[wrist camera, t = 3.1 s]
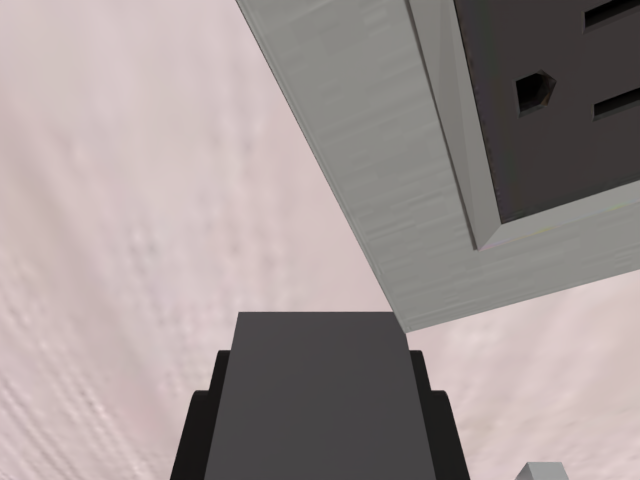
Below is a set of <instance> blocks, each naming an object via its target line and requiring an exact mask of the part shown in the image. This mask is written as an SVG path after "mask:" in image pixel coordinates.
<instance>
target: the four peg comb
mask: <svg viewBox="0 0 640 480" xmlns="http://www.w3.org/2000/svg"><path fill="white" fill-rule="evenodd" d="M514 480H569V478H568V476H567V474H566V471H565V469H564V467H563V465H562V462H527V463H526V464H525V466H524V467H523V468H522V470H521V471H520V473H519V474H518V475H517V477H516V478H515V479H514Z"/></svg>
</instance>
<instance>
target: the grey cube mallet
mask: <svg viewBox="0 0 640 480" xmlns="http://www.w3.org/2000/svg"><path fill="white" fill-rule="evenodd" d="M204 480H436V477H435V472H434V467H433V462H432V458H431V453H430V448H429V443H428V438H427V433H426V429H425V424H424V419H423V414H422V409H421V404H420V399H419V395H418V390H417V385H416V380H415V375H414V370H413V366H412V361H411V356H410V351H409V346H408V341H407V337H406V333H405V334H404V332H403V330H402V328H401V326H400V324H399V322H398V320H397V318H396V316H395V314H394V312H238V317H237V322H236V327H235V331H234V336H233V341H232V346H231V351H230V356H229V361H228V366H227V370H226V375H225V380H224V385H223V390H222V395H221V400H220V405H219V409H218V414H217V419H216V424H215V429H214V434H213V439H212V444H211V448H210V453H209V458H208V463H207V468H206V473H205V478H204Z"/></svg>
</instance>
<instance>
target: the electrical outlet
mask: <svg viewBox="0 0 640 480" xmlns="http://www.w3.org/2000/svg"><path fill="white" fill-rule="evenodd" d="M235 1H236V3H237V5H238V7H239V9H240V11H241V13H242V15H243V17H244V19H245V21H246V23H247V25H248V26H249V28H250V30H251V32H252V34H253V36H254V38H255V40H256V42H257V44H258V46H259V48H260V50H261V52H262V54H263V56H264V58H265V60H266V62H267V64H268V66H269V68H270V70H271V72H272V74H273V76H274V78H275V80H276V82H277V84H278V86H279V88H280V90H281V92H282V94H283V96H284V97H285V99H286V101H287V103H288V105H289V107H290V109H291V111H292V113H293V115H294V117H295V119H296V121H297V123H298V125H299V127H300V129H301V131H302V133H303V135H304V137H305V139H306V141H307V143H308V145H309V147H310V149H311V151H312V153H313V155H314V157H315V159H316V161H317V163H318V165H319V167H320V169H321V170H322V172H323V174H324V176H325V178H326V180H327V182H328V184H329V186H330V188H331V190H332V192H333V194H334V196H335V198H336V200H337V202H338V204H339V206H340V208H341V210H342V212H343V214H344V216H345V218H346V220H347V222H348V224H349V226H350V228H351V230H352V232H353V234H354V236H355V238H356V240H357V241H358V243H359V245H360V247H361V249H362V251H363V253H364V255H365V257H366V259H367V261H368V263H369V265H370V267H371V269H372V271H373V273H374V275H375V277H376V279H377V281H378V283H379V285H380V287H381V289H382V291H383V293H384V295H385V297H386V299H387V301H388V303H389V305H390V307H391V309H392V311H393V312H394V314H395V316H396V318H397V320H398V322H399V324H400V326H401V328H402V330H403V332H404V334H405V333H409V332H413V331H416V330H420V329H424V328H427V327H431V326H435V325H438V324H442V323H446V322H449V321H453V320H456V319H460V318H464V317H467V316H471V315H475V314H478V313H482V312H486V311H489V310H493V309H497V308H500V307H504V306H508V305H511V304H515V303H519V302H522V301H526V300H530V299H533V298H537V297H541V296H544V295H548V294H552V293H555V292H559V291H563V290H566V289H570V288H574V287H577V286H581V285H585V284H588V283H592V282H596V281H599V280H603V279H607V278H610V277H614V276H617V275H621V274H625V273H628V272H632V271H636V270H639V269H640V0H235Z"/></svg>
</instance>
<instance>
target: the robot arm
mask: <svg viewBox="0 0 640 480" xmlns="http://www.w3.org/2000/svg"><path fill="white" fill-rule="evenodd" d="M230 351H231V350H219V351H218V353H217V356H216V361H215V365H214V369H213V373H212V378H211V382H210V386H209V390H196V391H195V392H194V393H193V395H192V398H191V401H190V405H189V408H188V412H187V416H186V420H185V423H184V427H183V431H182V435H181V438H180V442H179V446H178V450H177V454H176V457H175V461H174V465H173V469H172V472H171V476H170V480H204V478H205V473H206V468H207V463H208V458H209V453H210V448H211V444H212V439H213V434H214V429H215V424H216V419H217V414H218V409H219V405H220V400H221V395H222V390H223V385H224V380H225V375H226V370H227V366H228V361H229V356H230ZM409 351H410V356H411V361H412V366H413V370H414V375H415V380H416V385H417V390H418V395H419V399H420V404H421V409H422V414H423V419H424V424H425V429H426V433H427V438H428V443H429V448H430V453H431V458H432V462H433V467H434V472H435V477H436V480H471V479H470V476H469V472H468V468H467V464H466V461H465V457H464V453H463V449H462V446H461V442H460V438H459V434H458V431H457V427H456V423H455V419H454V416H453V412H452V408H451V404H450V401H449V398H448V395H447V393H446V391H444V390H431V386H430V382H429V377H428V373H427V369H426V365H425V360H424V356H423V353H422V351H421V350H409Z"/></svg>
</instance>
